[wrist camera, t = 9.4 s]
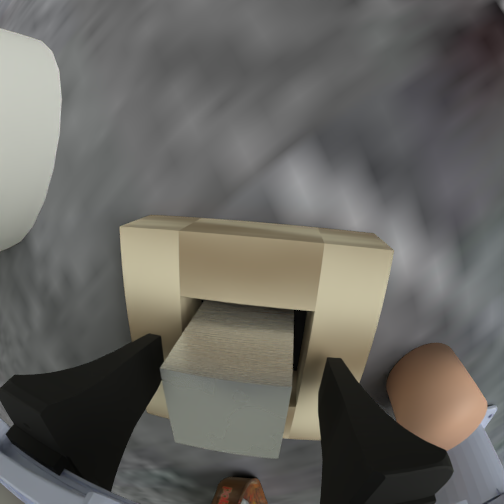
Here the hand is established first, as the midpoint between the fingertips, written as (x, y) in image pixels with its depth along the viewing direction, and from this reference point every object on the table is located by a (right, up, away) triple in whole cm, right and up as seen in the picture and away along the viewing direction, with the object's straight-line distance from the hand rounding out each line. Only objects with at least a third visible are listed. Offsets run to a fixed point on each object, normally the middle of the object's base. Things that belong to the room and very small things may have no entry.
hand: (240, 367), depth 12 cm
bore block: (0, +1, +3) cm, 4 cm away
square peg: (0, +1, +3) cm, 4 cm away
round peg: (+11, -3, +3) cm, 12 cm away
